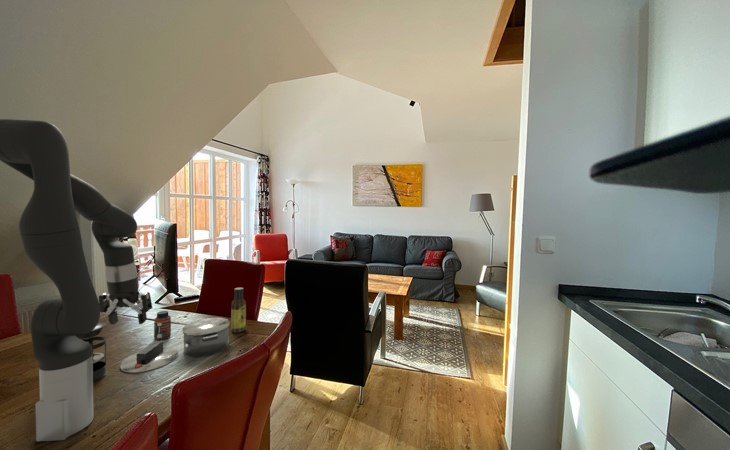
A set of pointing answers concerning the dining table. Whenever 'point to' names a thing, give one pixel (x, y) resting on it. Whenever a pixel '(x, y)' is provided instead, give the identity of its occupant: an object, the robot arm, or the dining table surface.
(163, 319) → the supplement bottle
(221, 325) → the cooker pot
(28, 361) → the dining table surface
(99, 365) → the french press
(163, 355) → the cooker lid
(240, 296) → the sauce bottle
